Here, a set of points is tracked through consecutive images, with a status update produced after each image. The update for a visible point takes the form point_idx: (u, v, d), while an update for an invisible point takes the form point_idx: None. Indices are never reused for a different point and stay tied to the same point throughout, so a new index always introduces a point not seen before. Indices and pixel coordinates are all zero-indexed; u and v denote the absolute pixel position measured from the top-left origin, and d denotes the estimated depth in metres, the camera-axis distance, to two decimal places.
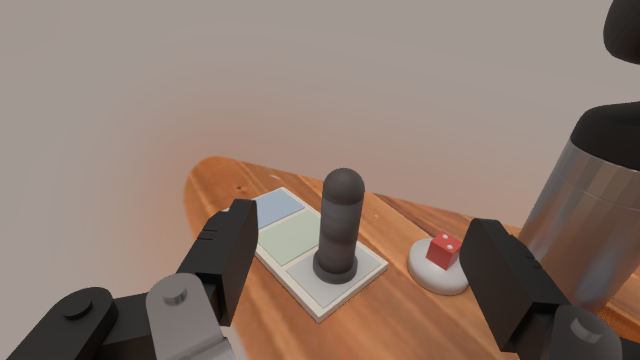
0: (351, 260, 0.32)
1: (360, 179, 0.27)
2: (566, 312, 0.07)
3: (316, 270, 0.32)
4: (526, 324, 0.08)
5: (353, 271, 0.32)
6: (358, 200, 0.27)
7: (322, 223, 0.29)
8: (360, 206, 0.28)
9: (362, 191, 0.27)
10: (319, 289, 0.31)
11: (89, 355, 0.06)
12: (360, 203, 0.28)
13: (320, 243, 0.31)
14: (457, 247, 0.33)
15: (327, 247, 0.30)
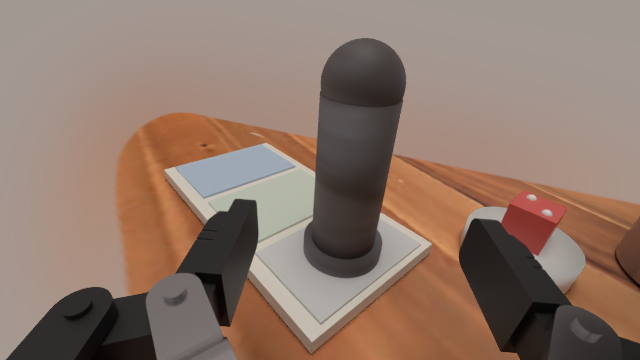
0: (372, 234, 0.17)
1: (398, 57, 0.13)
2: (566, 312, 0.07)
3: (309, 253, 0.18)
4: (526, 324, 0.08)
5: (375, 255, 0.18)
6: (394, 99, 0.13)
7: (320, 158, 0.15)
8: (397, 117, 0.14)
9: (403, 81, 0.13)
10: (314, 287, 0.17)
11: (89, 355, 0.06)
12: (397, 109, 0.14)
13: (316, 201, 0.17)
14: (560, 213, 0.18)
15: (329, 205, 0.16)
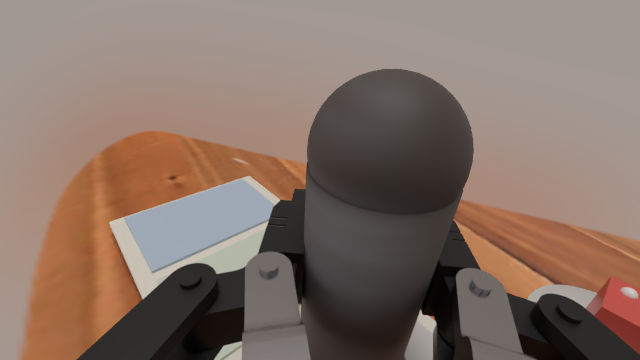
0: None
1: (461, 108, 0.07)
2: (466, 273, 0.08)
3: None
4: (439, 286, 0.09)
5: None
6: (455, 195, 0.06)
7: (307, 274, 0.09)
8: (452, 219, 0.07)
9: (471, 157, 0.06)
10: None
11: (189, 326, 0.07)
12: (456, 207, 0.07)
13: None
14: None
15: (324, 348, 0.09)
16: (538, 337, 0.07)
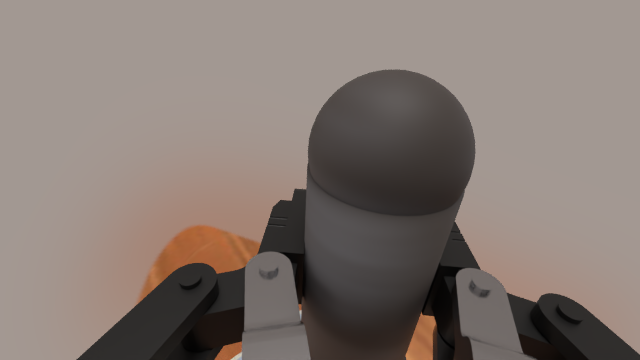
0: None
1: (463, 109, 0.07)
2: (467, 273, 0.08)
3: None
4: (439, 287, 0.09)
5: None
6: (457, 196, 0.06)
7: (308, 275, 0.09)
8: (454, 220, 0.07)
9: (473, 158, 0.06)
10: None
11: (189, 326, 0.07)
12: (457, 208, 0.07)
13: None
14: None
15: (325, 349, 0.09)
16: (538, 337, 0.07)
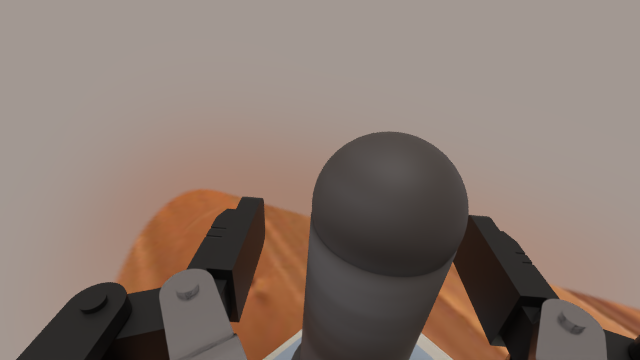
0: None
1: (458, 174, 0.07)
2: (552, 305, 0.07)
3: None
4: (514, 317, 0.08)
5: None
6: (450, 257, 0.07)
7: (310, 313, 0.09)
8: (447, 272, 0.08)
9: (466, 221, 0.07)
10: None
11: (103, 349, 0.06)
12: (450, 264, 0.07)
13: (304, 357, 0.11)
14: None
15: None
16: None
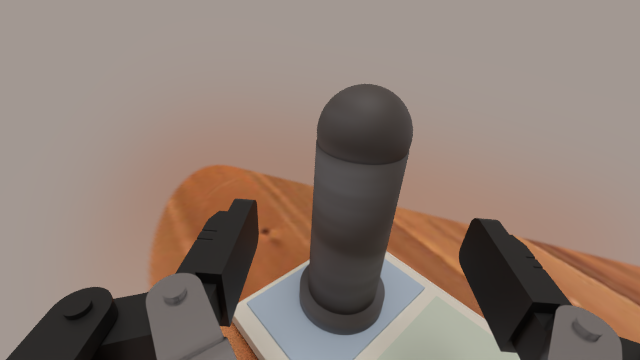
0: (375, 287, 0.16)
1: (404, 106, 0.12)
2: (566, 312, 0.07)
3: (305, 305, 0.16)
4: (525, 323, 0.08)
5: (378, 308, 0.16)
6: (400, 155, 0.12)
7: (316, 211, 0.14)
8: (402, 171, 0.12)
9: (410, 134, 0.12)
10: None
11: (89, 355, 0.06)
12: (403, 164, 0.12)
13: (312, 253, 0.15)
14: None
15: (327, 261, 0.14)
16: None
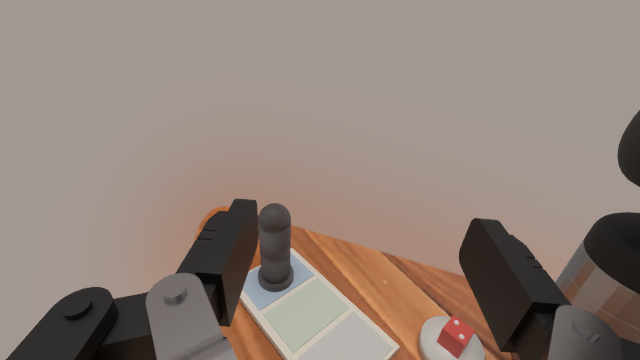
0: (285, 273, 0.40)
1: (285, 213, 0.36)
2: (566, 312, 0.07)
3: (259, 280, 0.41)
4: (526, 324, 0.08)
5: (288, 281, 0.41)
6: (283, 229, 0.36)
7: (260, 245, 0.38)
8: (286, 233, 0.37)
9: (286, 222, 0.36)
10: None
11: (89, 355, 0.06)
12: (286, 231, 0.37)
13: None
14: (469, 336, 0.33)
15: (264, 263, 0.39)
16: None
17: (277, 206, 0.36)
